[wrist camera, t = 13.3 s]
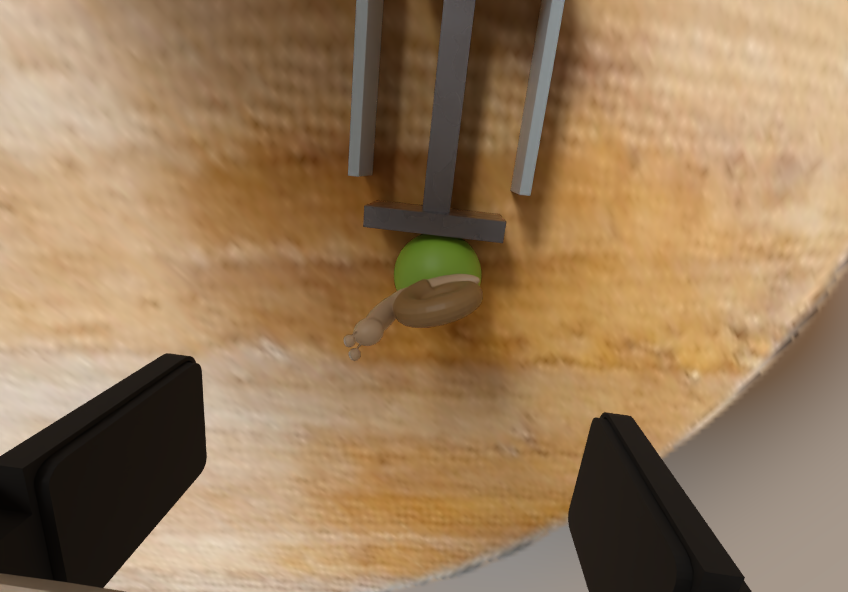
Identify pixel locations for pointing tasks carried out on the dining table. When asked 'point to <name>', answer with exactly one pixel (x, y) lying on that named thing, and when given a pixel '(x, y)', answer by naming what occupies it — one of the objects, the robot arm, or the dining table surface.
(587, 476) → the robot arm
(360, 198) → the dining table surface
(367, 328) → the snail figurine
